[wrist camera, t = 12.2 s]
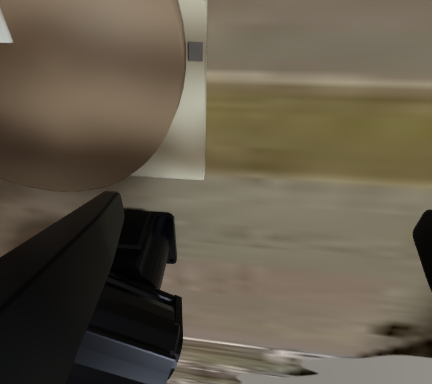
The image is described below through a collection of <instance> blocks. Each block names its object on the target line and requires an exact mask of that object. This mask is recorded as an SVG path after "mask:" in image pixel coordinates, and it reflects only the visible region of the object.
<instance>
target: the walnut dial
mask: <svg viewBox="0 0 432 384" xmlns="http://www.w3.org/2000/svg"><path fill="white" fill-rule="evenodd" d="M185 73H186V41H185V33H184V24H183V19H182V15H181V10H180V6H179V2H178V0H0V178H2V179H5V180H7V181H10V182H13V183H17V184H20V185H24V186H27V187H32V188H37V189H43V190H50V191H62V192H66V191H84V190H92V189H97V188H100V187H104V186H108V185H111V184H113V183H115V182H118V181H120V180H123V179H124V178H126V177H128V176H129V175H131V174H132V173H134V172H136V171H137V170H138V169H139V168H140V167H142V166H143V165H144V164H145V163H146V162H147V161H148V160H149V159H150V158H151V157H152V156H153V154H154V153H155V152H156V151H157V150H158V148H159V147H160V145H161V143H162V142H163V140H164V139H165V137H166V135H167V133H168V131H169V128H170V126H171V124H172V121H173V119H174V116H175V114H176V112H177V109H178V107H179V104H180V100H181V96H182V92H183V89H184V81H185Z"/></svg>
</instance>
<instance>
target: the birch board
mask: <svg viewBox="0 0 432 384" xmlns="http://www.w3.org/2000/svg"><path fill="white" fill-rule="evenodd" d="M178 2H179V6H180V10H181V15H182V19H183V24H184V33H185V41H186V73H185V81H184V89H183V92H182V96H181V100H180V104H179V107H178V109H177V112H176V114H175V116H174V119H173V121H172V124H171V126H170V128H169V131H168V133H167V135H166V137H165V139H164V140H163V142H162V143H161V145H160V147H159V148H158V150H157V151H156V152H155V153H154V154H153V156H152V157H151V158H150V159H149V160H148V161H147V162H146V163H145V164H144V165H143V166H142V167H140V168H139V169H138V170H137V171H136V172H134V173H132V174H131V175H129V176H140V177H157V178H174V179H191V180H204V174H205V147H206V68H207V0H178Z"/></svg>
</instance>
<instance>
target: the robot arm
mask: <svg viewBox="0 0 432 384" xmlns="http://www.w3.org/2000/svg"><path fill="white" fill-rule="evenodd" d="M167 218H169V219H167ZM413 239H414V242H415V245H416V248H417V251H418V254H419V257H420V260H421V264H422V267H423V270H424V273H425V276H426V279H427V281H428V284H429V287H430V289H431V291H432V210H427V211H425V212H424V213H423V215H422V216H421V218H420V220H419V221H418V223H417V225H416V226H415V228H414V230H413ZM176 260H177V250H176V237H175V223H174V216H173V215H172V214H169V213H156V212H140V211H124V209H123V204H122V200H121V195H120V193H118V192H114V191H105V192H103V193H101V194H100V195H98V196H96V197H95V198H93V199H92V200H90V201H89V202H87V203H85V204H84V205H82V206H81V207H79V208H78V209H76V210H74V211H73V212H71V213H70V214H68V215H67V216H65V217H63V218H62V219H60V220H59V221H57V222H56V223H54V224H52V225H51V226H49V227H48V228H46V229H45V230H43V231H41V232H40V233H38V234H37V235H35V236H33V237H32V238H30V239H29V240H27V241H26V242H24V243H22V244H21V245H19V246H18V247H16V248H15V249H13V250H11V251H10V252H8V253H7V254H5V255H4V256H2V257H0V384H166V382H167V380H168V379H169V378H170V377H171V375H172V373H173V371H174V370H175V367H176V365H177V363H178V360H179V357H180V353H181V349H182V343H183V325H182V298H181V297H179V296H177V295H175V296H174V295H171V294H169V293H166V292H164V291H161V290H160V288H161V284H162V279H163V275H164V271H165V267H166V263H168V264H174V263H176Z"/></svg>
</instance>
